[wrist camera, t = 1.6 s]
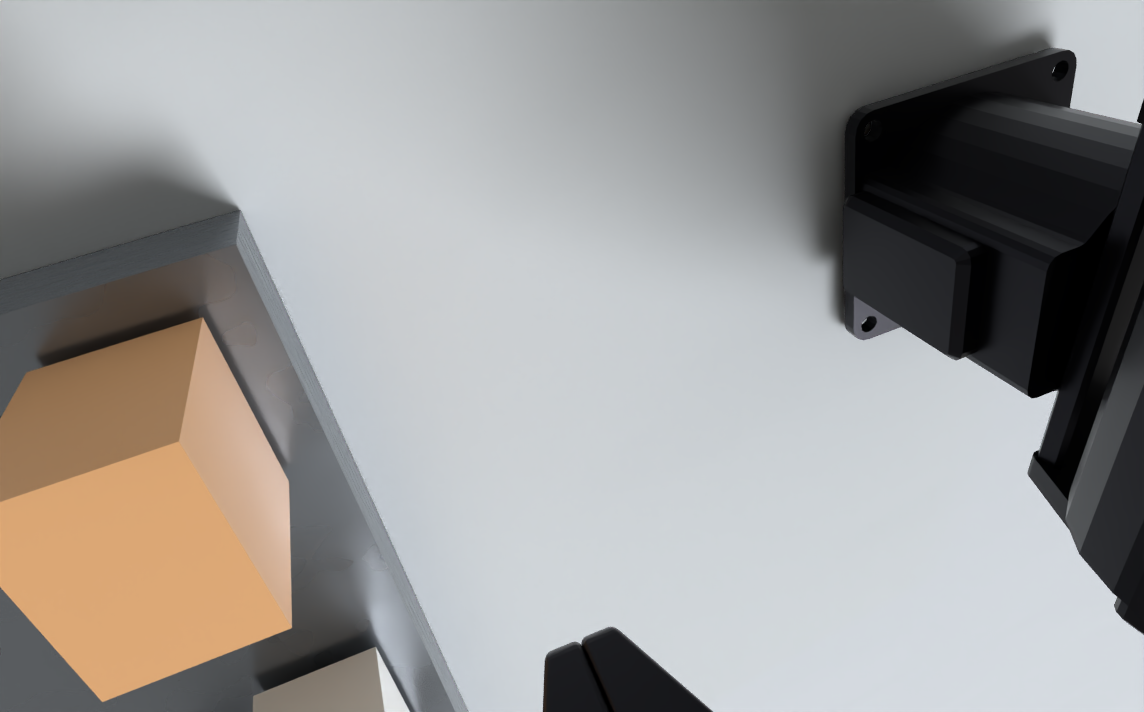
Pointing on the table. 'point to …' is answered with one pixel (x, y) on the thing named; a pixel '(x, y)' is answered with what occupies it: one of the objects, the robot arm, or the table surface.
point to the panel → (298, 439)
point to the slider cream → (337, 689)
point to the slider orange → (142, 510)
